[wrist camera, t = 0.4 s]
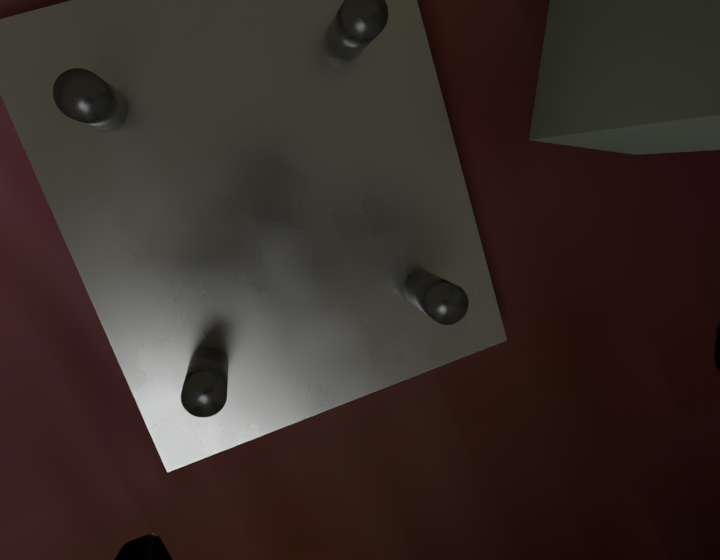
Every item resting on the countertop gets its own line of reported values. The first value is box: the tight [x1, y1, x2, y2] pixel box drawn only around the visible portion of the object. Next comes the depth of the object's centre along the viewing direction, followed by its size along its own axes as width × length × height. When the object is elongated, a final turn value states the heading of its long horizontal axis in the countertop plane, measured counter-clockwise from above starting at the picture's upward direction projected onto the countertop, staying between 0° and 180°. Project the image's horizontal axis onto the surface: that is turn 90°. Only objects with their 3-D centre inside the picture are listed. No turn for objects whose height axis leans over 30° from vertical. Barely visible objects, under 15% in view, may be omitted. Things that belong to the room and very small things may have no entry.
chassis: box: [0, 0, 507, 472], centre depth 19 cm, size 16×14×4 cm
